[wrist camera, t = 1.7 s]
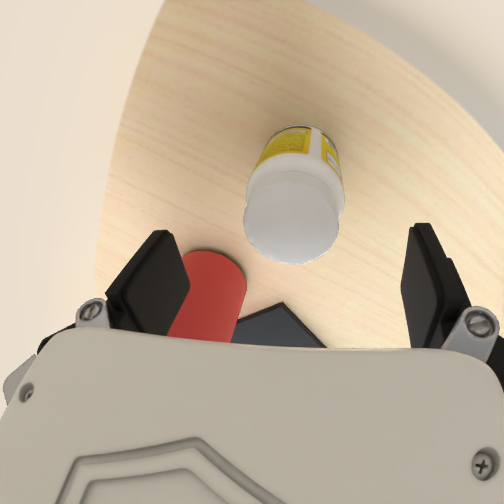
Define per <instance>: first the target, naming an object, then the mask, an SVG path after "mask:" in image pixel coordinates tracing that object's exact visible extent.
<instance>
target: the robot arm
mask: <svg viewBox="0 0 504 504" xmlns="http://www.w3.org/2000/svg"><path fill="white" fill-rule="evenodd" d="M190 286H191V285H190V280H189V278H188V275H187V272H186V270H185V267H184V264H183V261H182V259H181V256H180V253H179V250H178V247H177V244H176V242H175V239H174V236H173V234H172V233H170V232H169V231H168V230H155V231H153V232H152V234H151V235H150V236H149V237H148V238H147V240H146V241H145V242H144V243H143V245H142V246H141V247H140V248H139V249H138V251H137V252H136V253H135V254H134V256H133V257H132V258H131V260H130V261H129V262H128V263H127V265H126V266H125V267H124V268H123V270H122V271H121V272H120V274H119V275H118V276H117V278H116V279H115V280H114V281H113V283H112V284H111V285H110V287H109V288H108V289H107V291H106V292H105V294H106V296H107V298H108V299H107V301H106V302H105V300H103V299H102V298H94V299H91V300H89V301H87V302H85V303H84V304H83V305H82V306H81V307H80V308H79V309H78V311H77V313H76V323H74V324H72V325H70V326H68V327H66V328H64V329H62V330H60V331H58V332H56V333H54V334H52V335H51V336H49V337H46V338H45V339H43V340H42V342H41V344H40V345H39V348H38V351H37V356H36V355H35V354H34V355H33V356H31V357H30V358H29V359H28V360H27V361H25V362H24V363H23V364H22V365H21V366H19V367H18V368H17V369H16V370H15V371H14V372H12V373H11V374H10V375H9V376H8V377H7V378H6V380H5V382H4V385H3V392H4V395H5V399H6V402H7V408H6V410H5V412H4V414H3V416H2V418H1V420H0V504H504V338H502V337H501V336H499V335H498V334H499V329H500V327H499V322H498V320H497V318H496V316H495V315H494V314H493V313H492V312H491V311H489V310H488V309H486V308H483V307H480V306H471V303H470V301H469V298H468V296H467V293H466V291H465V288H464V286H463V284H462V281H461V279H460V277H459V274H458V272H457V270H456V268H455V265H454V263H453V261H452V260H451V258H447V257H446V255H445V253H444V251H443V248H442V246H441V244H440V242H439V240H438V238H437V236H436V234H435V232H434V230H433V228H432V226H431V224H430V223H415V225H414V227H410V229H409V236H408V243H407V250H406V257H405V263H404V269H403V274H402V280H401V295H402V299H403V304H404V309H405V314H406V320H407V325H408V331H409V337H410V343H411V348H371V349H366V348H301V347H279V346H262V345H247V344H234V343H223V342H212V341H202V340H193V339H184V338H176V337H168V336H167V334H168V332H169V330H170V328H171V326H172V324H173V322H174V320H175V318H176V316H177V314H178V312H179V310H180V308H181V306H182V304H183V302H184V300H185V298H186V297H187V295H188V293H189V291H190Z"/></svg>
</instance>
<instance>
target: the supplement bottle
mask: <svg viewBox="0 0 504 504" xmlns="http://www.w3.org/2000/svg"><path fill="white" fill-rule="evenodd" d="M344 201H345V195H344V188H343V182H342V176H341V170H340V164H339V159H338V154H337V150H336V148H335V145H334V144H333V142H332V141H331V139H330V138H329V137H328V136H327V135H326V134H325V133H323V132H322V131H320V130H319V129H317V128H314V127H311V126H307V125H291V126H288V127H285V128H283V129H281V130H279V131H278V132H277V133H276V134H274V135H273V137H272V138H271V139H270V140H269V142H268V144H267V145H266V147H265V149H264V151H263V153H262V155H261V157H260V159H259V161H258V163H257V165H256V167H255V168H254V170H253V172H252V174H251V177H250V179H249V181H248V185H247V190H246V202H247V206H246V209H245V212H244V229H245V233H246V235H247V237H248V240H249V241H250V243H251V244H252V245H253V246H254V248H255V249H256V250H257V251H258V252H260V253H261V254H262V255H264V256H266V257H267V258H269V259H271V260H274V261H276V262H280V263H284V264H303V263H308V262H311V261H314V260H316V259H318V258H320V257H321V256H323V255H324V254H325V253H326V252H327V251H328V250H329V249H330V248H331V247H332V245H333V244H334V242H335V240H336V238H337V234H338V229H339V219H340V217H341V215H342V212H343V209H344Z"/></svg>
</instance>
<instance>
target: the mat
mask: <svg viewBox="0 0 504 504" xmlns="http://www.w3.org/2000/svg"><path fill="white" fill-rule="evenodd" d="M230 343H234V344H247V345H262V346H279V347H301V348H326V347H325V346H324V345H323V344H322V343H321V342H320V341H319V340H318V339H317V338H316V337H315V336H314V335H313V334H312V332H311V331H310V330H309V329H308V328H307V327H306V326H305V325H304V324H303V323H302V322H301V321H300V320H299V319H298V318H297V317H296V316H295V315H294V314H293V313H292V312H291V311H290V310H289V309H288V308H287V307H286V305H285V304H284V303H283V302H282V303H279V304H277V305H274V306H272V307H269V308H267V309H264V310H262V311H259V312H257V313H254V314H252V315H249V316H247V317H244V318H242V319H239V320H237V323H236V326H235V329H234V332H233V335H232V338H231V342H230Z"/></svg>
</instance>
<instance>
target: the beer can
mask: <svg viewBox="0 0 504 504" xmlns="http://www.w3.org/2000/svg"><path fill="white" fill-rule="evenodd" d="M181 259H182V261H183V264H184V267H185V270H186V272H187V275H188V278H189V280H190V285H191V286H190V291H189V293H188V295H187V297H186V298H185V300H184V302H183V304H182V306H181V308H180V310H179V312H178V314H177V316H176V318H175V320H174V322H173V324H172V326H171V328H170V330H169V332H168V334H167V336H168V337H176V338H184V339H193V340H202V341H212V342H223V343H230V342H231V338H232V335H233V332H234V329H235V326H236V323H237V319H238V316H239V313H240V310H241V307H242V303H243V300H244V297H245V294H246V291H247V287H246V279H245V277H244V275H243V273H242V271H241V270H240V269H239V268H238V266H237V265H236V264H235V263H234V262H233V261H231V260H230V259H228V258H227V257H225V256H223V255H221V254H218V253H215V252H211V251H201V250H200V251H195V252H190V253H188V254H187V255H185V256H183V257H182V258H181Z"/></svg>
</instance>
